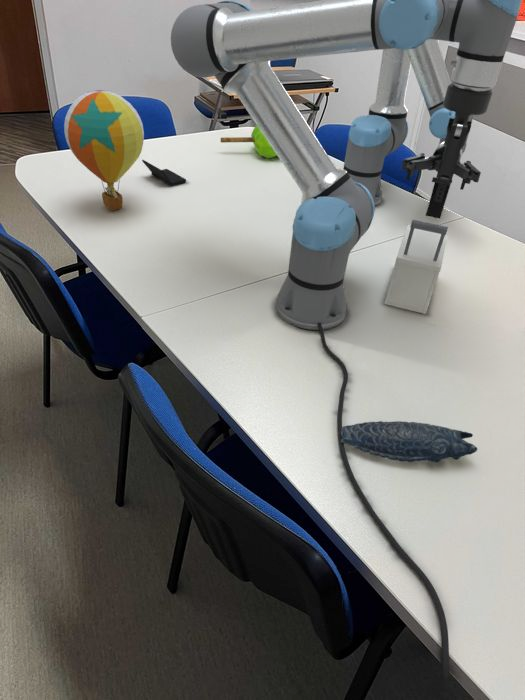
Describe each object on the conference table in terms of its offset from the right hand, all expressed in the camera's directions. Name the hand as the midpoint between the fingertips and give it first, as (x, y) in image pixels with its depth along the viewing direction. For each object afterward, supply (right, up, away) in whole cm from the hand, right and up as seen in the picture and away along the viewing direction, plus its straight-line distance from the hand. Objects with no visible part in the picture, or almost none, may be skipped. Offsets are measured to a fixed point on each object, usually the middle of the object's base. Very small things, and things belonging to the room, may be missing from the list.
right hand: (435, 179), depth 132 cm
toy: (-86, -4, +13) cm, 87 cm away
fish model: (-21, -59, -49) cm, 80 cm away
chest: (-9, -29, -10) cm, 32 cm away
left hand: (-10, -15, -30) cm, 35 cm away
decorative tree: (-45, +28, +58) cm, 79 cm away
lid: (-9, -21, -17) cm, 28 cm away
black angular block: (-75, +10, +32) cm, 82 cm away
